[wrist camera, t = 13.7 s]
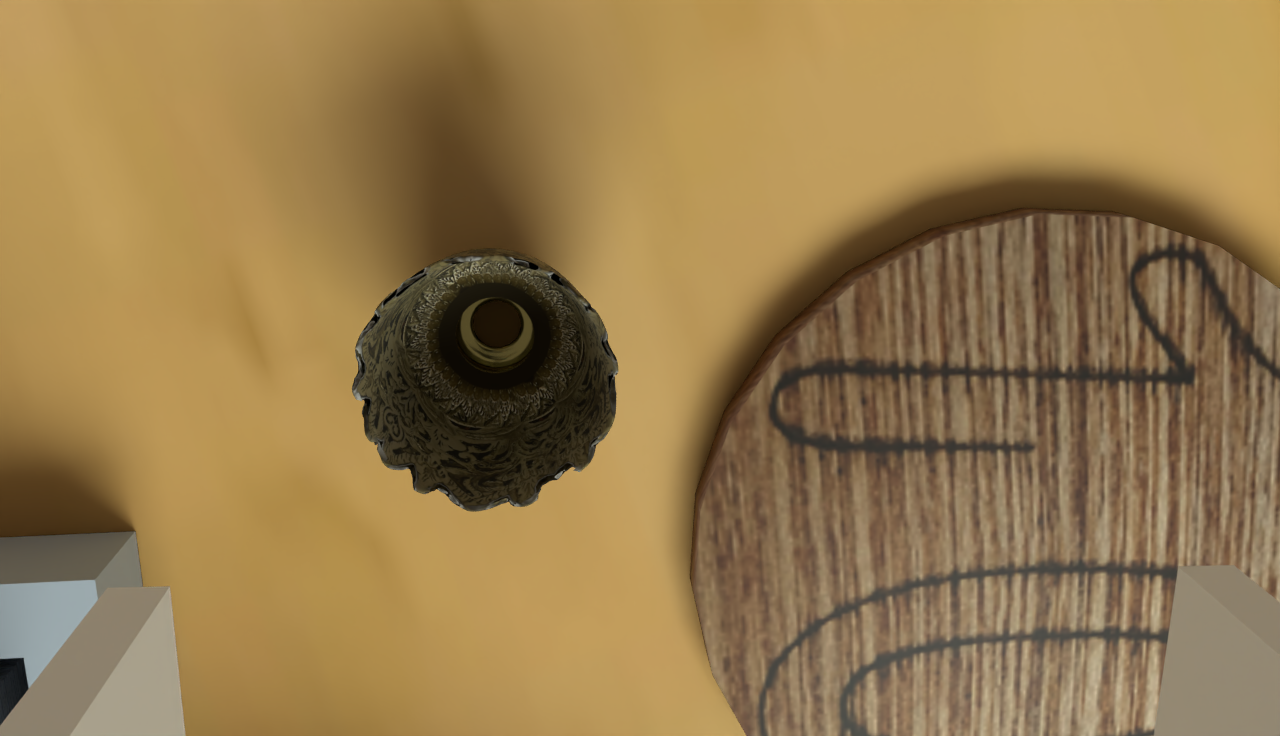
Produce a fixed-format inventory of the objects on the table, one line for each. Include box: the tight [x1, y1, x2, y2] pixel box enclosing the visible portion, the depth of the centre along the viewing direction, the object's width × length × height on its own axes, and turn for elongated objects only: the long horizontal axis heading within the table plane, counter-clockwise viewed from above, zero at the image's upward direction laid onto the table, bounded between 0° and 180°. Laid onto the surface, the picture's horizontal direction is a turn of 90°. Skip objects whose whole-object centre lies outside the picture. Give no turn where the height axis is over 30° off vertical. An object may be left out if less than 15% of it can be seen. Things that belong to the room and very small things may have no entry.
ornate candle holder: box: [352, 249, 618, 511], centre depth 38 cm, size 8×7×8 cm
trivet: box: [690, 208, 1280, 736], centre depth 45 cm, size 25×25×2 cm
